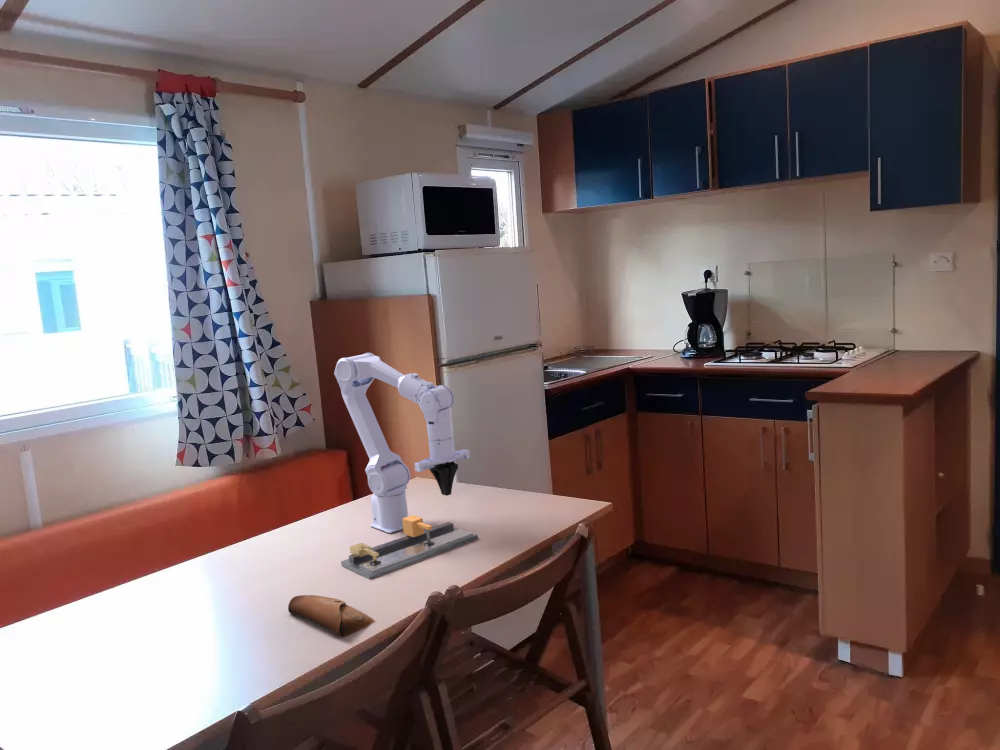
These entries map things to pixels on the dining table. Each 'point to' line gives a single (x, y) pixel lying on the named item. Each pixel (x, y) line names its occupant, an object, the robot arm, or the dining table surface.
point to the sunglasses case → (329, 614)
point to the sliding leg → (415, 527)
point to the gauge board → (404, 550)
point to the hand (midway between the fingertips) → (446, 494)
